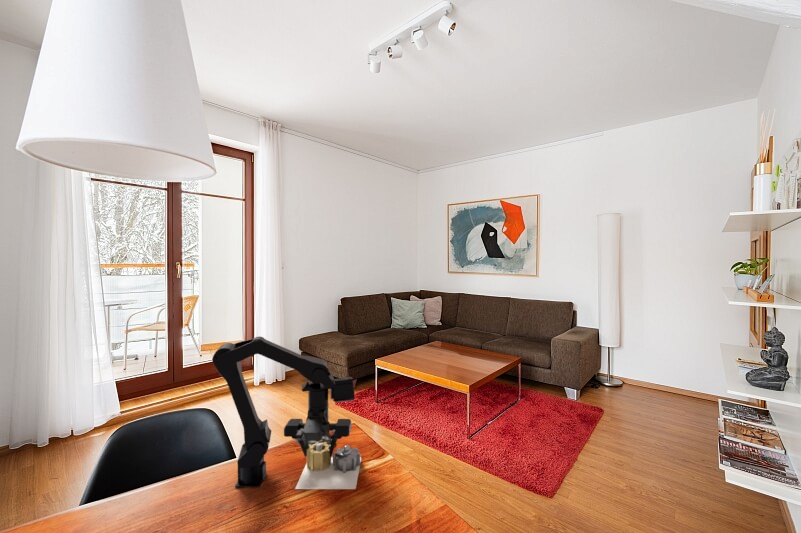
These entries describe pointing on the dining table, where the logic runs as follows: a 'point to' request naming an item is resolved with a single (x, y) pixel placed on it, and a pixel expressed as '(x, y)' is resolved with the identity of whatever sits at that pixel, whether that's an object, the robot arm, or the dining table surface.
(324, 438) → the caster wheel
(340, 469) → the gear
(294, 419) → the robot arm
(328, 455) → the brass gear
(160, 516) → the dining table surface
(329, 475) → the gear board
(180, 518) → the dining table surface
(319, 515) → the dining table surface
